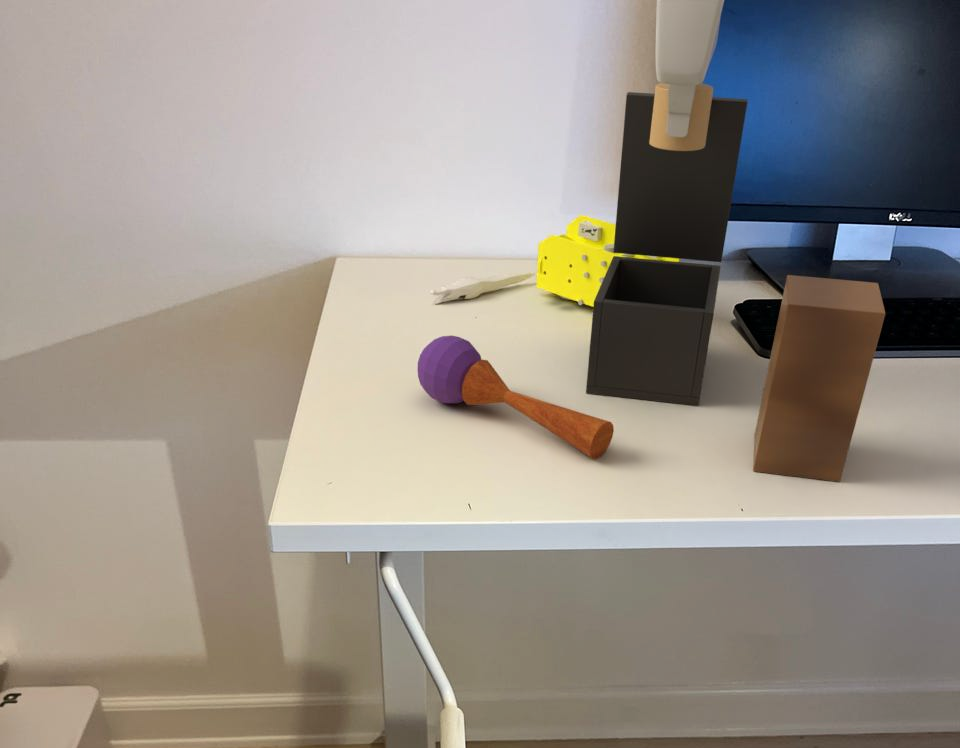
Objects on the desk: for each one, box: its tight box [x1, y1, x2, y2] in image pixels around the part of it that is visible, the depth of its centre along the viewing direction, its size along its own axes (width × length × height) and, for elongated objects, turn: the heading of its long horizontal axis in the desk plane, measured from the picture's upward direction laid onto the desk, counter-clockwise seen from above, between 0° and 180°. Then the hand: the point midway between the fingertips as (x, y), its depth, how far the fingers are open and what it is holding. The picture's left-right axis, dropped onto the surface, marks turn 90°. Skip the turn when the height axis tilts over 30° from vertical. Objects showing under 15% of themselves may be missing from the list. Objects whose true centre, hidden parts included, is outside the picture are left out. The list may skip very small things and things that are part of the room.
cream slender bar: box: [429, 272, 536, 305], centre depth 115 cm, size 15×3×2 cm, turn 125°
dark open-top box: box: [585, 256, 722, 407], centre depth 96 cm, size 14×11×9 cm
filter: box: [649, 82, 714, 151], centre depth 85 cm, size 5×5×4 cm
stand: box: [752, 274, 886, 483], centre depth 80 cm, size 7×7×14 cm
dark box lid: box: [613, 91, 749, 263], centre depth 94 cm, size 14×11×5 cm
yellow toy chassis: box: [535, 214, 681, 307], centre depth 110 cm, size 16×6×8 cm, turn 44°
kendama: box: [417, 335, 614, 460], centre depth 87 cm, size 6×6×20 cm
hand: (679, 128), depth 85 cm, fingers closed on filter, 5 cm apart
